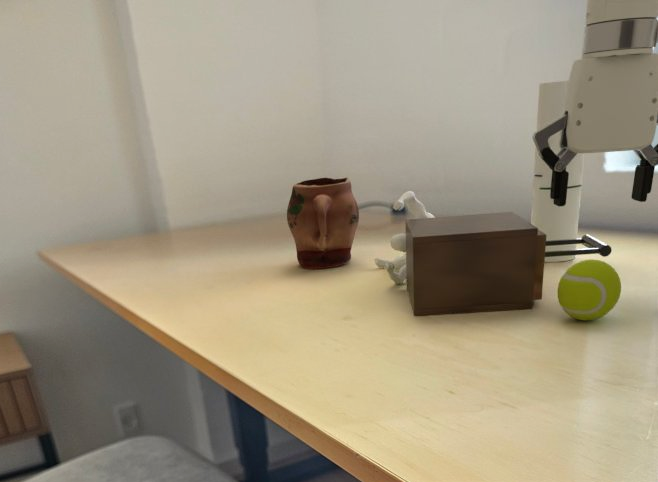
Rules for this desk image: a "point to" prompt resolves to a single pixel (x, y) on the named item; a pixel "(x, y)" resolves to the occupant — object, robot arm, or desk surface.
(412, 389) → the desk surface
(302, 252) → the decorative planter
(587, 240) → the drawer
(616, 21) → the robot arm
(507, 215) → the cabinet
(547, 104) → the cylindrical container
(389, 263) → the person figurine
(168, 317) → the desk surface
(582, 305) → the tennis ball
